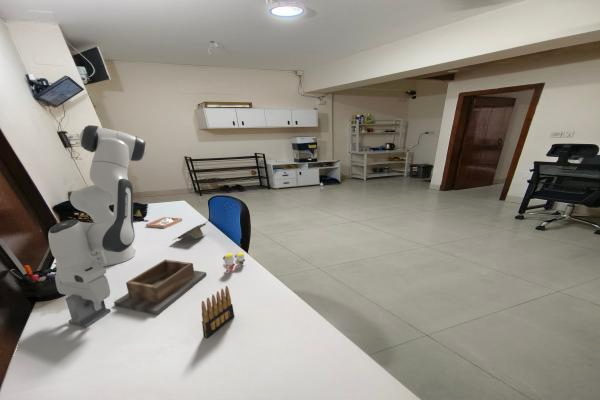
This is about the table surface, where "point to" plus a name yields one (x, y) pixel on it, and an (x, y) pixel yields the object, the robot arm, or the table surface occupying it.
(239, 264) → the toy figures
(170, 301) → the well box
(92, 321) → the metal bracket
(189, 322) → the table surface
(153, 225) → the orange square frame
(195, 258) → the table surface
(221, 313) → the bullet clip
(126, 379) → the table surface
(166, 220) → the rose
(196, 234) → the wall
